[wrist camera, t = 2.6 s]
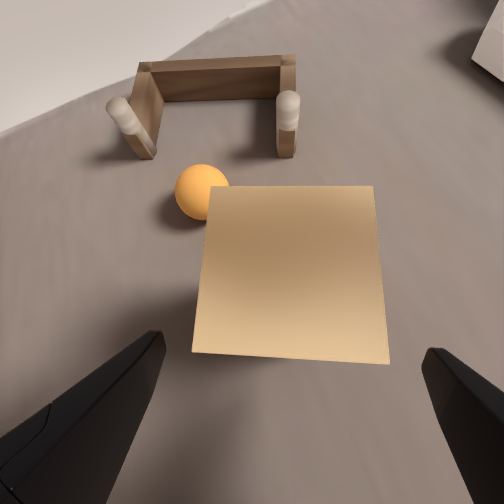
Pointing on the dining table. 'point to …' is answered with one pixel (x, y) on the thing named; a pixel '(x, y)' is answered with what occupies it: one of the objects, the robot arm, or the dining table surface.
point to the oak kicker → (292, 275)
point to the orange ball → (197, 189)
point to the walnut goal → (207, 95)
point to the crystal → (492, 44)
